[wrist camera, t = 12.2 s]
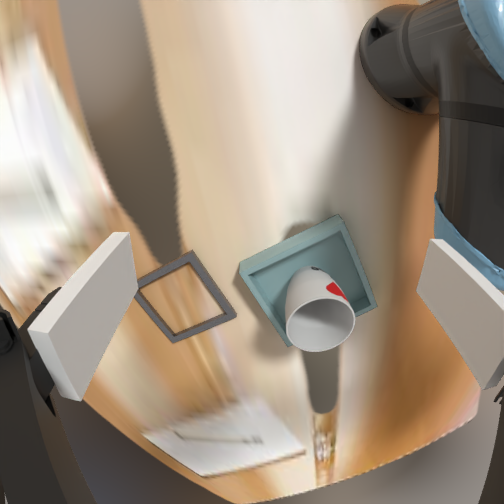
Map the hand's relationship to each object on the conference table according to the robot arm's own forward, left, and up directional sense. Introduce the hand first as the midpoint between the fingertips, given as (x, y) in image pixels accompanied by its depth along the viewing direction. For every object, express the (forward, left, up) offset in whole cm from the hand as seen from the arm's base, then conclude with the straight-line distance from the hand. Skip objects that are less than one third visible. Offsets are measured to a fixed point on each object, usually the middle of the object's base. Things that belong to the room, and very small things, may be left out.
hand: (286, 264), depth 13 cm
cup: (+2, +18, -26) cm, 32 cm away
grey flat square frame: (+20, +12, -27) cm, 35 cm away
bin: (+2, +18, -27) cm, 32 cm away
